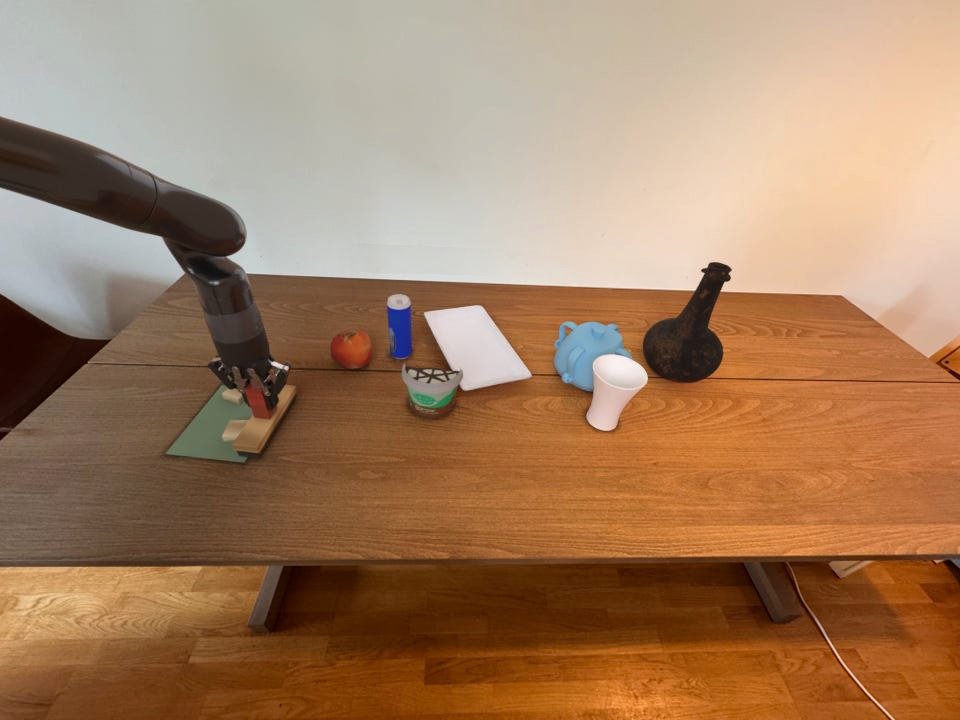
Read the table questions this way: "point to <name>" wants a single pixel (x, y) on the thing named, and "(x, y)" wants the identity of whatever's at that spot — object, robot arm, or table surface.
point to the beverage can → (399, 326)
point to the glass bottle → (689, 334)
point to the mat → (212, 431)
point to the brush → (262, 420)
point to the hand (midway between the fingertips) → (263, 405)
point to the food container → (431, 390)
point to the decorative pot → (585, 351)
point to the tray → (475, 347)
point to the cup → (613, 388)
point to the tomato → (351, 349)
